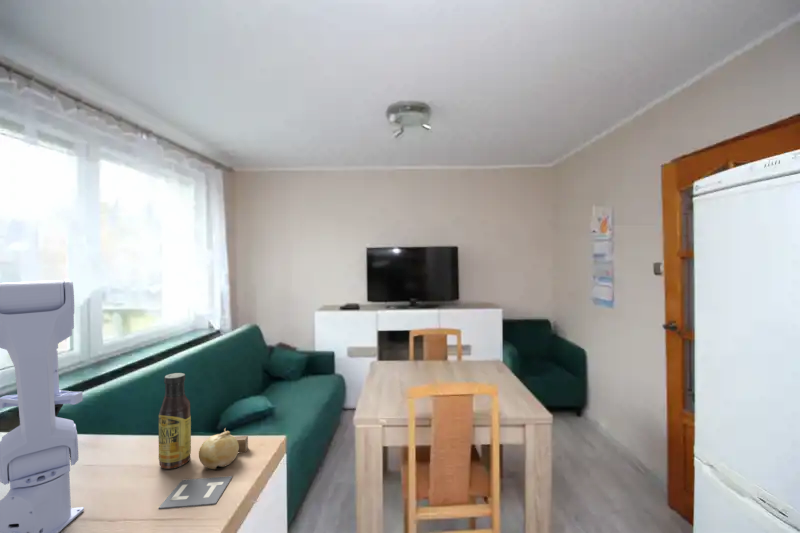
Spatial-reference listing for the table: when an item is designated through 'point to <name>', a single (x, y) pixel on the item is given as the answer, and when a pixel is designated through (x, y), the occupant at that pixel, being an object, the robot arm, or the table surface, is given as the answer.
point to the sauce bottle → (174, 424)
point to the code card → (196, 492)
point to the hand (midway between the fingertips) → (42, 440)
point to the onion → (218, 450)
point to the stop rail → (242, 443)
